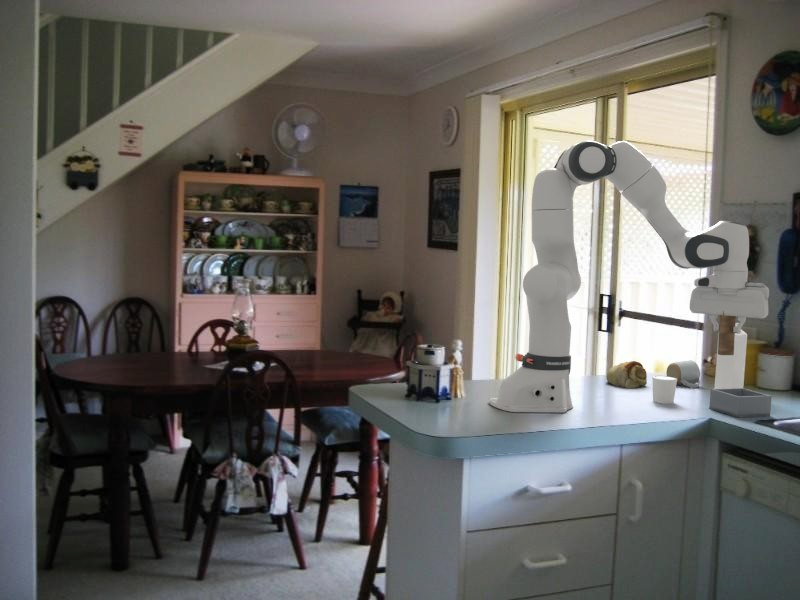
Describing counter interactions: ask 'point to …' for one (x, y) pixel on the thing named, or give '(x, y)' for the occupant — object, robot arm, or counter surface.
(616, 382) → the pastry
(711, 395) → the grey storage tray
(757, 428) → the counter surface
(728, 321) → the brown wooden block
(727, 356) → the milk
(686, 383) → the ceramic mug
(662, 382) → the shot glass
